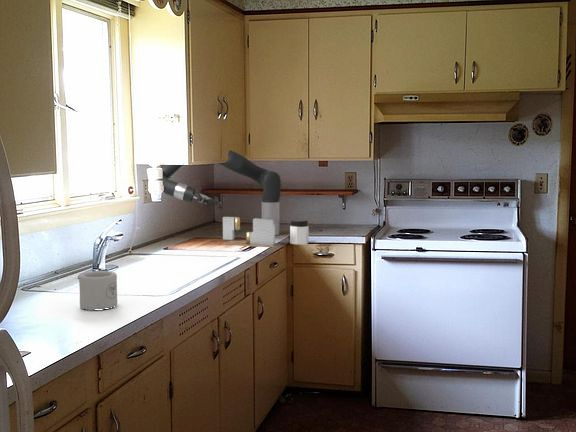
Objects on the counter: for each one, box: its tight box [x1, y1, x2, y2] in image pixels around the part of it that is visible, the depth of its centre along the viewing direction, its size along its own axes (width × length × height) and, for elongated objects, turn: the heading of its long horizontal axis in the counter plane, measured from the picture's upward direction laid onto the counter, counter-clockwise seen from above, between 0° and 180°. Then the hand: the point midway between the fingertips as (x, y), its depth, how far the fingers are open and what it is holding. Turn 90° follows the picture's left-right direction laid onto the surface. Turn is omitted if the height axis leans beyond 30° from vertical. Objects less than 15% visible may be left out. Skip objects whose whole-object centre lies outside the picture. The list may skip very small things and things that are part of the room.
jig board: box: [220, 240, 281, 248], centre depth 322 cm, size 12×26×1 cm, turn 71°
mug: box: [78, 270, 118, 311], centre depth 206 cm, size 14×11×10 cm
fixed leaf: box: [245, 217, 276, 246], centre depth 319 cm, size 3×14×12 cm, turn 70°
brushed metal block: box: [222, 216, 241, 241], centre depth 336 cm, size 8×3×12 cm, turn 71°
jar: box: [289, 218, 310, 245], centre depth 325 cm, size 9×8×12 cm
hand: (216, 203), depth 333 cm, fingers open, 8 cm apart
